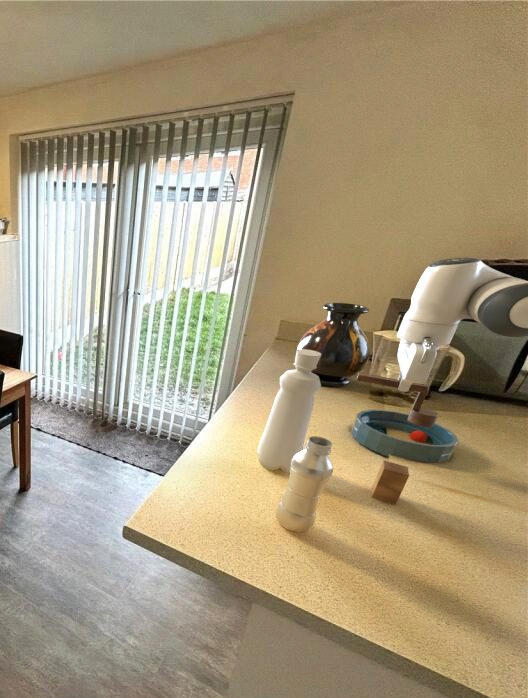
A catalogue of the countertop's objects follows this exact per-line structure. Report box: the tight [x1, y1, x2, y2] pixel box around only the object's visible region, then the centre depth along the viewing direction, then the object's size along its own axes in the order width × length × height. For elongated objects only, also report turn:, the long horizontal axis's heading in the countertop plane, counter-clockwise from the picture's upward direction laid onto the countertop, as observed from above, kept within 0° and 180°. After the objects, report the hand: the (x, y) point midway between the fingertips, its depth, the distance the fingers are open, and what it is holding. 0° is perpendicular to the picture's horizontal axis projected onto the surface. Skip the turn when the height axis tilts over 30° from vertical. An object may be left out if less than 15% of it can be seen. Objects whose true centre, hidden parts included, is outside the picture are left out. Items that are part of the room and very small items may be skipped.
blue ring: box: [350, 409, 459, 463], centre depth 105 cm, size 20×20×6 cm
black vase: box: [294, 302, 371, 388], centre depth 142 cm, size 22×22×28 cm
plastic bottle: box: [275, 435, 334, 533], centre depth 76 cm, size 6×7×20 cm
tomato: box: [409, 431, 427, 443], centre depth 105 cm, size 3×3×3 cm
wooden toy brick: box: [371, 459, 410, 505], centre depth 86 cm, size 4×4×8 cm
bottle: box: [256, 349, 322, 474], centre depth 93 cm, size 9×9×30 cm
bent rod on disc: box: [355, 372, 440, 427], centre depth 95 cm, size 16×5×9 cm, turn 51°
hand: (401, 388), depth 94 cm, fingers closed on bent rod on disc
